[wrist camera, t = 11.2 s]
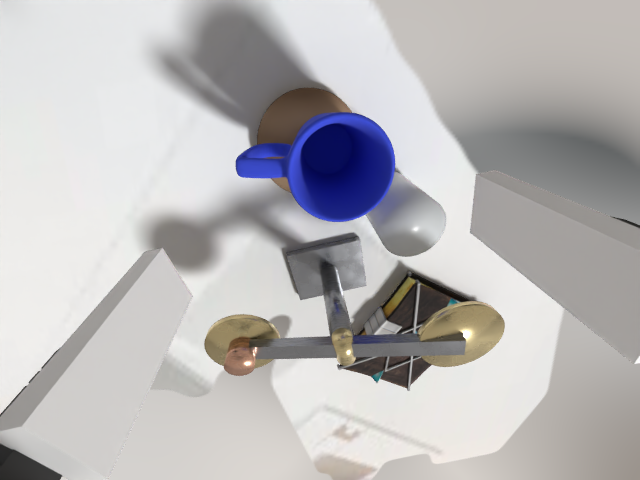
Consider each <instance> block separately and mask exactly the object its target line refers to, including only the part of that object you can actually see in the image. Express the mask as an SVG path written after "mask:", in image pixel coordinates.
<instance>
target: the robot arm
mask: <svg viewBox="0 0 640 480" xmlns="http://www.w3.org/2000/svg"><path fill="white" fill-rule="evenodd" d="M470 233H471V234H473V235H474V236H475V237H476V238H478V239H479V240H480V241H481V242H483V243H484V244H485V245H486V246H488V247H489V248H490V249H491V250H492V251H494V252H495V253H496V254H497V255H499V256H500V257H501V258H502V259H504V260H505V261H506V262H507V263H509V264H510V265H511V266H512V267H514V268H515V269H516V270H517V271H519V272H520V273H521V274H522V275H524V276H525V277H526V278H527V279H529V280H530V281H531V282H532V283H534V284H535V285H536V286H537V287H538V288H540V289H541V290H542V291H543V292H545V293H546V294H547V295H548V296H550V297H551V298H552V299H553V300H555V301H556V302H557V303H558V304H560V305H561V306H562V307H563V308H565V309H566V310H567V311H569V312H570V313H571V314H572V315H573V316H575V317H576V318H577V319H578V320H580V321H581V322H582V323H583V324H585V325H586V326H587V327H588V328H590V329H591V330H592V331H593V332H594V333H596V334H597V335H598V336H599V337H601V338H602V339H603V340H605V341H606V342H607V343H608V344H609V345H611V346H612V347H613V348H614V349H616V350H617V351H618V352H619V353H621V354H622V355H623V356H624V357H626V358H627V359H628V360H629V361H631V362H632V363H633V364H636V363H640V225H637V224H635V223H632V222H630V221H627V220H624V219H619V218H615V217H611V216H608V215H605V214H603V213H600V212H598V211H595V210H593V209H590V208H588V207H585V206H583V205H580V204H578V203H575V202H573V201H570V200H568V199H566V198H563V197H561V196H558V195H556V194H553V193H551V192H548V191H546V190H543V189H541V188H538V187H536V186H533V185H531V184H528V183H526V182H523V181H521V180H518V179H516V178H513V177H511V176H509V175H506V174H504V173H501V172H499V171H496V170H492V171H489V172H484V173H480V174H476V180H475V189H474V199H473V209H472V218H471V228H470ZM192 297H193V296H192V294H191V293H190V291H189V289H188V288H187V286H186V285H185V283H184V281H183V280H182V278H181V276H180V275H179V273H178V272H177V270H176V268H175V267H174V265H173V264H172V262H171V260H170V259H169V257H168V255H167V254H166V252H165V251H164V249H163V248H159V249H155V250H151V251H146V252H144V253H143V254H142V256H141V257H140V258H139V259H138V260H137V261H136V262H135V264H134V265H133V266H132V267H131V268H130V269H129V270H128V272H127V273H126V274H125V275H124V276H123V277H122V278H121V280H120V281H119V282H118V283H117V284H116V285H115V286H114V288H113V289H112V290H111V291H110V292H109V293H108V294H107V296H106V297H105V298H104V299H103V300H102V301H101V302H100V304H99V305H98V306H97V307H96V308H95V309H94V310H93V311H92V313H91V314H90V315H89V316H88V317H87V318H86V319H85V321H84V322H83V323H82V324H81V325H80V326H79V327H78V329H77V330H76V331H75V332H74V333H73V334H72V335H71V337H70V338H69V339H68V340H67V341H66V342H65V343H64V345H63V346H62V347H61V348H59V349H58V350H57V351H56V352H55V353H54V354H53V355H52V357H51V358H50V359H49V360H48V361H47V362H46V363H45V364H44V366H43V367H42V370H41V371H38V372H37V374H36V375H35V376H34V377H33V378H32V379H31V380H30V381H29V384H28V386H25V387H24V388H23V389H22V391H21V392H20V393H19V394H18V395H17V396H16V397H15V398H14V400H13V401H12V402H11V403H10V404H9V405H8V406H7V408H6V409H5V410H4V411H3V412H2V413H1V414H0V480H60V479H61V477H64V478H66V479H68V480H106V479H109V477H110V475H111V472H112V470H113V468H114V466H115V464H116V461H117V459H118V457H119V455H120V453H121V450H122V449H123V446H124V444H125V442H126V440H127V438H128V436H129V433H130V431H131V429H132V427H133V425H134V422H135V420H136V418H137V416H138V414H139V412H140V409H141V407H142V405H143V403H144V401H145V398H146V396H147V394H148V392H149V390H150V388H151V386H152V384H153V381H154V379H155V377H156V375H157V373H158V371H159V368H160V366H161V364H162V362H163V360H164V358H165V355H166V353H167V351H168V349H169V347H170V345H171V342H172V340H173V338H174V336H175V334H176V332H177V329H178V327H179V325H180V323H181V321H182V319H183V316H184V314H185V312H186V310H187V308H188V306H189V303H190V301H191V299H192Z"/></svg>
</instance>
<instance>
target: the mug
mask: <svg viewBox="0 0 640 480" xmlns="http://www.w3.org/2000/svg"><path fill="white" fill-rule="evenodd" d="M266 157H284V158H280V159H268V158H266ZM236 171H237V174H238V175H239V176H240V177H245V178H281V177H286V178H287V179H288V184H289V187H290V190H291V192H292V194H293V196H294V198H295V200H296V201H297V202H298V204H299V205H300V206H301V207H302V208H303V209H304V210H305V211H307V212H308V213H309V214H311V215H313V216H315V217H317V218H319V219H322V220H326V221H332V222H344V221H349V220H353V219H356V218H359V217H361V216H363V215H365V214H367V213H368V212H370V211H371V210H372V209H374V208H375V207H376V206H377V205H378V204H379V203H380V202H381V201H382V199H383V198H384V197H385V195H386V194H387V192H388V190H389V188H390V186H391V183H392V180H393V177H394V171H395V156H394V150H393V147H392V144H391V142H390V140H389V138H388V136H387V135H386V133H385V132H384V131H383V129H382V128H381V127H380V126H379V125H378V124H376V123H375V122H374V121H372V120H371V119H369V118H367V117H365V116H362V115H359V114H356V113H349V112H336V113H323V114H319V115H316V116H314V117H312V118H311V119H309V120H308V121H307V122H306V123H305V124H304V125H303V126H302V127H301V129H300V130H299V132H298V134H297V136H296V138H295V140H294V142H293V144H292V146H291V145H289V144H283V143H264V144H258V145H255V146H253V147H251V148H249V149H247V150H246V151H244V152H243V153H242V154H241V155H239V156H238V157H237V159H236Z"/></svg>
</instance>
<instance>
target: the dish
mask: <svg viewBox="0 0 640 480" xmlns="http://www.w3.org/2000/svg"><path fill="white" fill-rule="evenodd" d="M336 112H349V113H352V112H351V110H350V109H349V108H348V106H347V105H346V104H345V103H344V102H343V101H342V100H341V99H340V98H338V97H337V96H335V95H334V94H332V93H330V92H327V91H325V90H321V89H317V88H300V89H295V90H292V91H289V92H287V93H285V94H283V95H282V96H281V97H279V98H278V99H277V100H275V101H274V102H273V103H272V104H271V105H270V107H269V108H268V109H267V111H266V112H265V114H264V116H263V118H262V120H261V122H260V126H259V129H258V136H257V145H258V144H264V143H283V144H289V145H291V146H292V144H293V142H294V140H295V138H296V136H297V134H298V132H299V130H300V129H301V127H302V126H303V125H304V124H305V123H306V122H307V121H308V120H309V119H311V118H312V117H314V116H316V115H319V114H323V113H336ZM266 158H268V159H280V158H284V157H266ZM271 179H272V180H273V181H274V182H275V183H276V184H277V185H278V186H280V187H281V188H283V189H284V190H286V191H288V192H291V190H290V187H289V184H288V179H287V178H286V177H281V178H271ZM291 193H292V192H291Z"/></svg>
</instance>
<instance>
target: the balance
mask: <svg viewBox="0 0 640 480" xmlns="http://www.w3.org/2000/svg"><path fill="white" fill-rule="evenodd" d="M287 259H288V263H289V266H290V269H291V272H292V275H293V278H294V281H295V284H296V288H297V291H298V294H299V297H300V300H303V299H308V298H313V297H317V296H322V295H324V300H325V306H326V313H327V319H328V325H329V331H330V336H328V337H302V338H280V334H279V332H278V330H277V329H276V327H275V326H274V325H272V324H271V323H270V322H269V321H267V320H265V319H263V318H260V317H257V316H253V315H244V314H240V315H232V316H228V317H225V318H222V319H220V320H218V321H217V322H216V323H214V324H213V325H212V326H211V327H210V329H209V331H208V333H207V336H206V339H205V344H204V345H205V350H206V352H207V354H208V355H209V357H210V358H211V359H212V360H214V361H215V362H216V363H218V364H220V365H222V366H224V369H225V370H226V371H227V372H228V373H229V374H232V375H236V376H243V375H247V374H249V373H251V372H252V371H253V370H254V368H258V367H261V366H263V365H266V364H268V363H269V362H271V361H272V360H273V359H296V358H337V361H338V362H339V363H340V364H341V365H344V366H348V365H351V364H353V363H354V361H355V360H356V357H390V356H421V357H422V358H423V359H424V360H425V361H426V362H427V363H429V364H431V365H434V366H440V367H452V366H458V365H462V364H466V363H469V362H471V361H474V360H476V359H478V358H480V357H481V356H483V355H484V354H486V353H487V352H489V351H490V350H491V349H492V348H493V347H494V346H495V345H496V344H497V343H498V342H499V340H500V339H501V337H502V335H503V332H504V328H505V325H504V320H503V318H502V317H501V315H500V314H499V313H498V312H497V311H496V310H495V309H494V308H493V307H492V306H490V305H488V304H486V303H483V302H478V301H467V302H460V303H456V304H453V305H450V306H448V307H445V308H443V309H441V310H439V311H438V312H436V313H435V314H433V315H432V316H431V317H429V318H428V319H427V320H426V321H425V322H424V323H423V325H422V326H421V327H420V329H419V331H418V333H408V334H382V335H355V336H354V335H353V331H352V327H351V323H350V319H349V315H348V311H347V307H346V303H345V300H344V296H343V292H342V291H345V290H349V289H354V288H358V287H363V286H366V279H365V271H364V264H363V257H362V250H361V243H360V239H359V237H354V238H350V239H345V240H341V241H336V242H332V243H327V244H323V245H318V246H314V247H309V248H305V249H300V250H296V251H291V252H287Z"/></svg>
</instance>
